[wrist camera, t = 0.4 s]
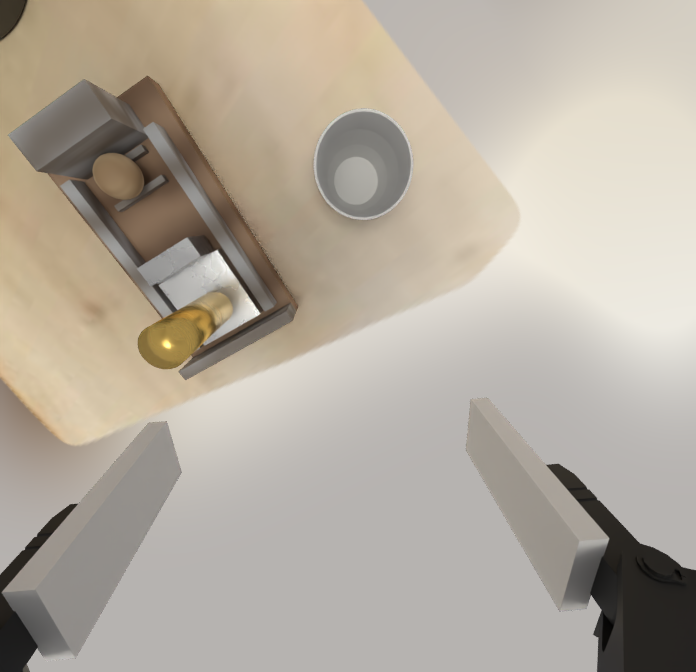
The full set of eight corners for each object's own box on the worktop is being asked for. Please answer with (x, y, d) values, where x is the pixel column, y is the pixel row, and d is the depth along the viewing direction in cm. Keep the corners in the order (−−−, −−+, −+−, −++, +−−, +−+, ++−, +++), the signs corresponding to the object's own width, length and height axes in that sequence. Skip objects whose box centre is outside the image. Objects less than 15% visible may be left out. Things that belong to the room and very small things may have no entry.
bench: (50, 160, 34) (-30, 142, 26) (158, 84, 32) (105, 42, 25) (205, 358, 42) (177, 388, 35) (298, 306, 40) (290, 326, 33)
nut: (101, 170, 32) (71, 164, 29) (133, 148, 32) (106, 139, 28) (129, 208, 34) (103, 206, 30) (160, 188, 33) (138, 183, 29)
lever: (153, 266, 36) (53, 292, 23) (210, 231, 35) (139, 237, 22) (209, 340, 39) (149, 399, 26) (263, 310, 38) (228, 355, 25)
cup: (346, 234, 38) (350, 239, 28) (303, 170, 35) (293, 151, 26) (405, 191, 36) (431, 181, 27) (366, 121, 34) (378, 83, 25)
